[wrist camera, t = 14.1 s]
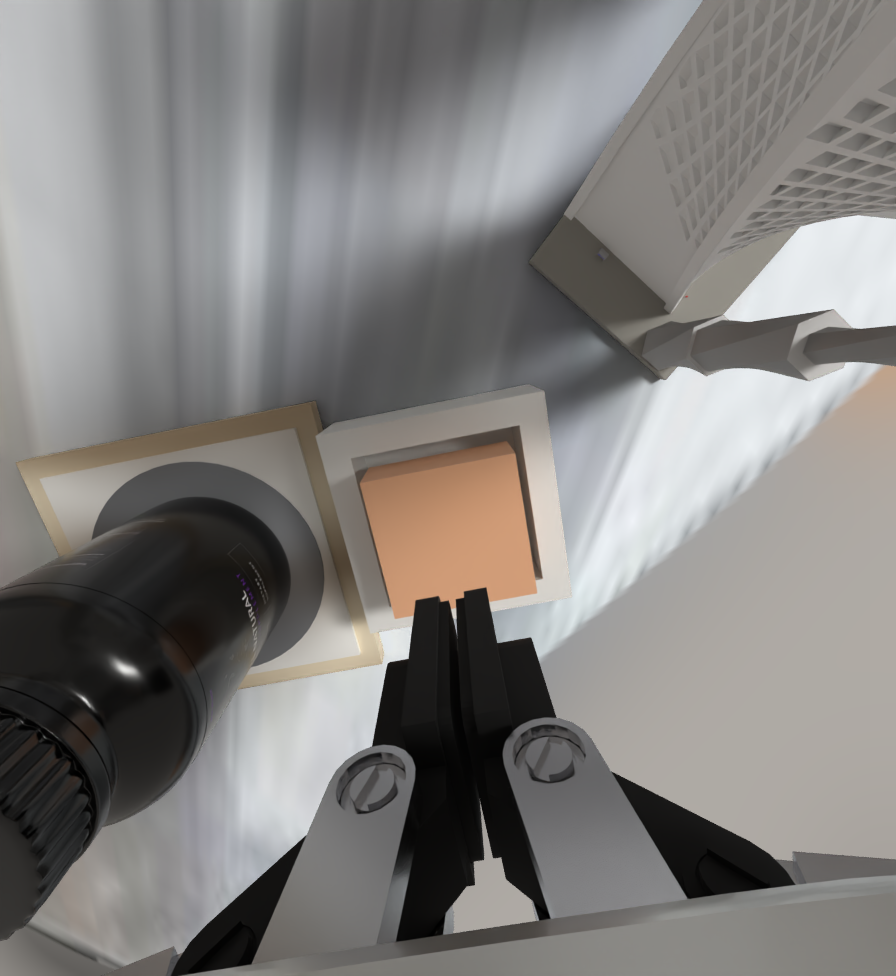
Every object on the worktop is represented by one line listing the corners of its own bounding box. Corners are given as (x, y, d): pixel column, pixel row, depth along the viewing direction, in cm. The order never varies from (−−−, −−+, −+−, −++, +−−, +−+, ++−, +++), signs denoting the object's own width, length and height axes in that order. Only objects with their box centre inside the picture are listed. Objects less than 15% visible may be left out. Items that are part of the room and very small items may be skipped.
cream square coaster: (32, 457, 20) (8, 464, 19) (315, 400, 19) (307, 403, 18) (141, 696, 23) (126, 713, 22) (384, 653, 22) (381, 668, 21)
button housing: (334, 422, 19) (315, 436, 16) (528, 384, 19) (544, 390, 16) (379, 595, 22) (370, 633, 19) (554, 563, 21) (572, 597, 18)
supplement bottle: (328, 592, 20) (181, 915, 9) (202, 664, 21) (-79, 1041, 10) (226, 457, 19) (-123, 641, 7) (94, 542, 19) (-404, 826, 8)
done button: (368, 467, 17) (359, 483, 15) (506, 440, 17) (515, 453, 15) (399, 590, 18) (394, 619, 17) (527, 567, 18) (537, 593, 16)
